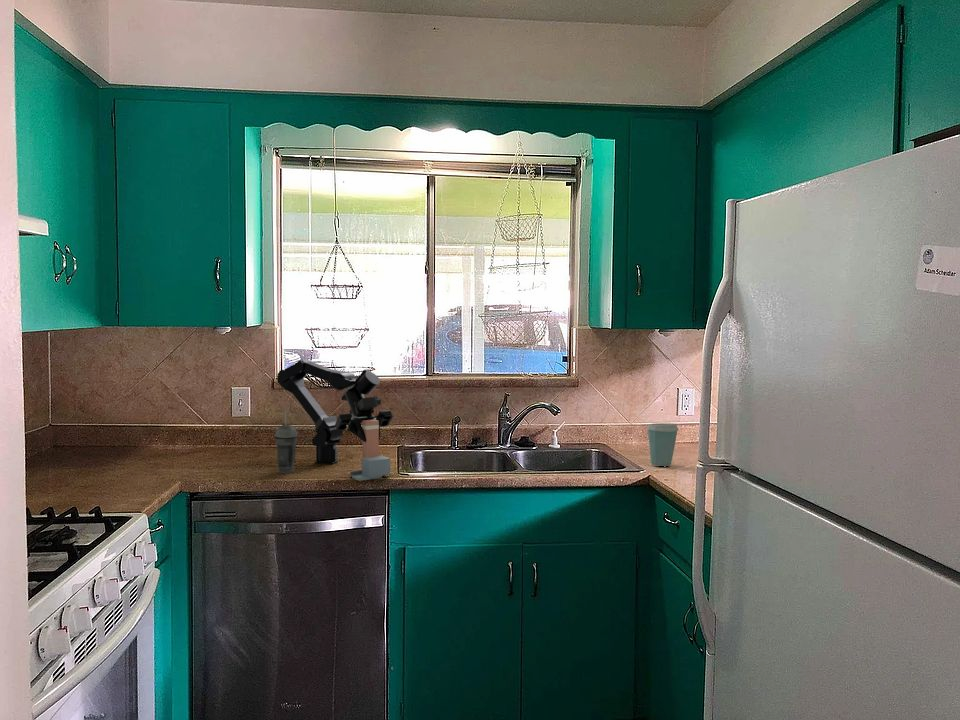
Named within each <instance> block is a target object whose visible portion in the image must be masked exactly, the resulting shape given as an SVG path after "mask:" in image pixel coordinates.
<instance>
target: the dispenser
mask: <svg viewBox="0 0 960 720" xmlns="http://www.w3.org/2000/svg"><path fill="white" fill-rule="evenodd" d="M349 474H350V478H351V477H352V478H351V479H354V480H356V481H358V482H359V481H361V482H362V481H369V480H375V479H376V480H377V479H382V478H383V476H389V475H391V458H390V457H387V456H384V455H379V456H377V457H369V458H361V469H357V470H356V469H355V470H350V471H349Z"/></svg>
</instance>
